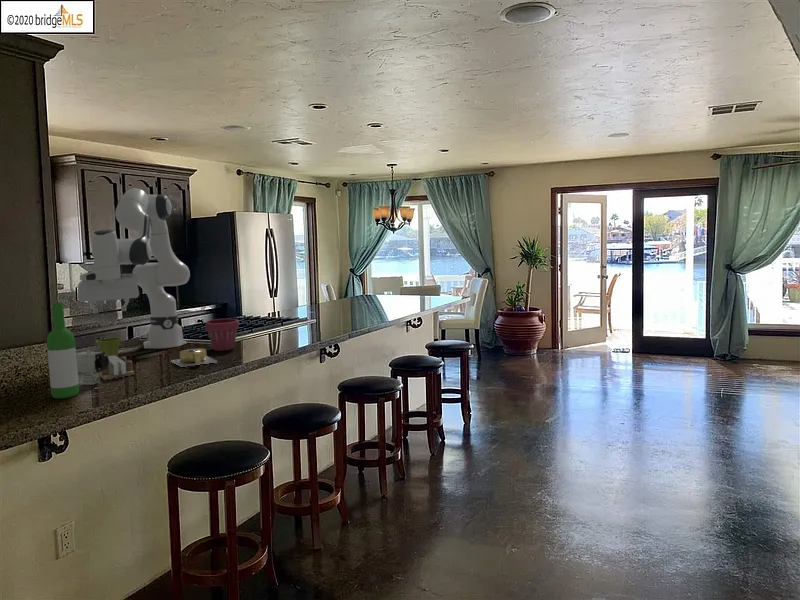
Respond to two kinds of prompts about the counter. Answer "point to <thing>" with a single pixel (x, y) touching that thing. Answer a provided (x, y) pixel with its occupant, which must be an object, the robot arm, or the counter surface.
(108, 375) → the rack
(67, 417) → the counter surface
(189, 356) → the ring nut
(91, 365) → the pneumatic valve
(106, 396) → the counter surface
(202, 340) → the counter surface
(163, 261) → the robot arm
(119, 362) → the white bar
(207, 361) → the nut base
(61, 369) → the wine bottle
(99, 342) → the plant pot
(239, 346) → the counter surface
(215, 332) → the plant pot
